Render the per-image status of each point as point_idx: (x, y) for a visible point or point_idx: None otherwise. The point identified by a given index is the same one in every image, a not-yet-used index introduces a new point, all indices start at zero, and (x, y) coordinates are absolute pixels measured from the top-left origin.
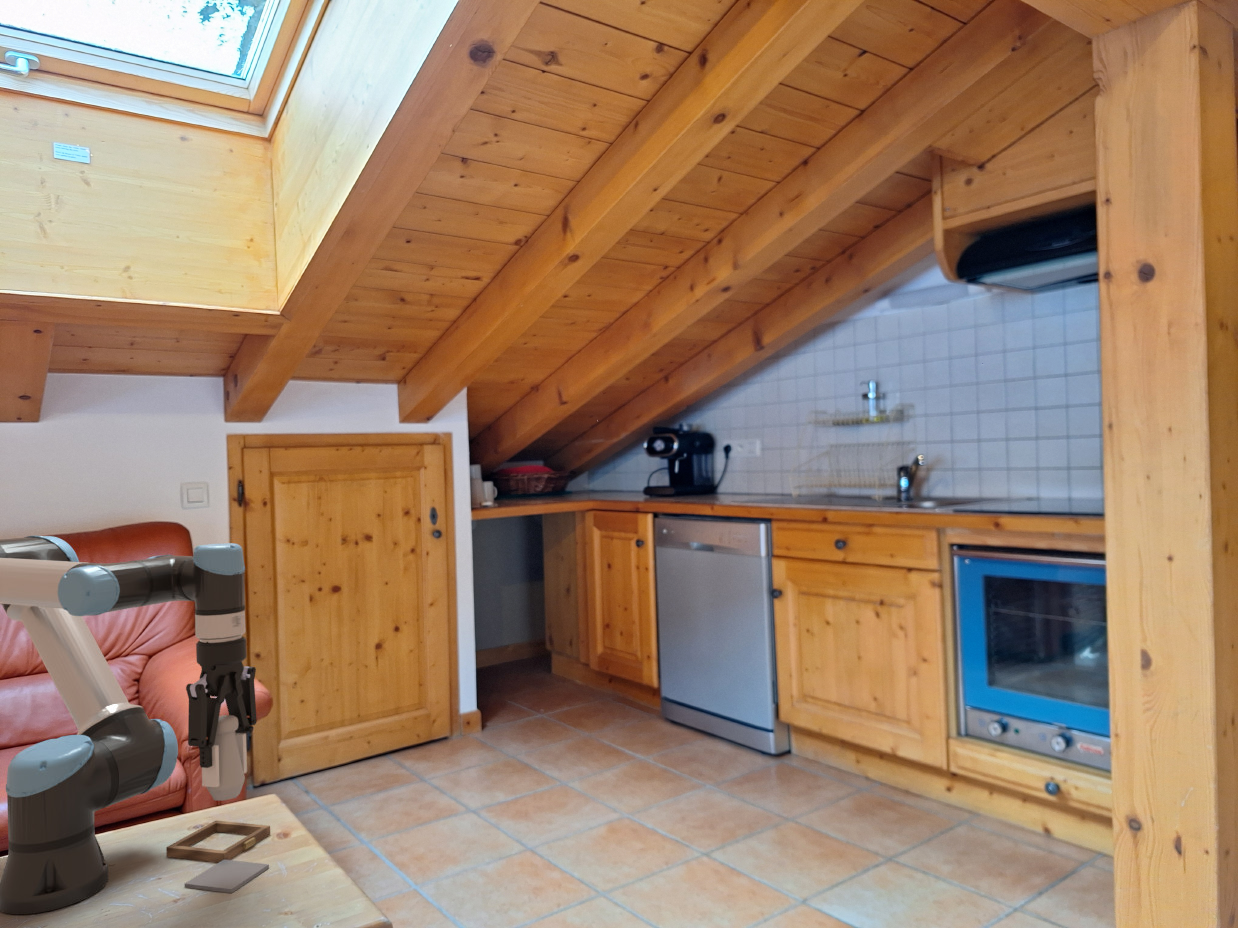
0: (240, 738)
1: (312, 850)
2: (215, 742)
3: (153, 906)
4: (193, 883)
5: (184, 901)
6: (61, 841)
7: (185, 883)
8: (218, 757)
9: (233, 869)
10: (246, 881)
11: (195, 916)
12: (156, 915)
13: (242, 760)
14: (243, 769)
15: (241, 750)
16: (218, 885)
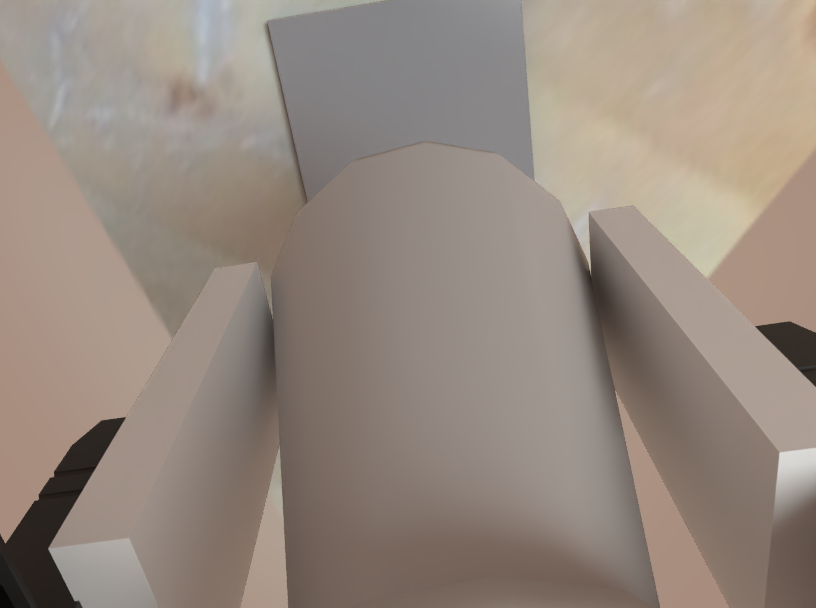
0: (731, 573)
1: (717, 257)
2: (291, 598)
3: (100, 48)
4: (286, 60)
5: (191, 135)
6: None
7: (269, 26)
8: (242, 578)
9: (450, 118)
10: None
11: (145, 270)
12: (68, 130)
13: (629, 403)
14: None
15: (663, 467)
16: (320, 180)
